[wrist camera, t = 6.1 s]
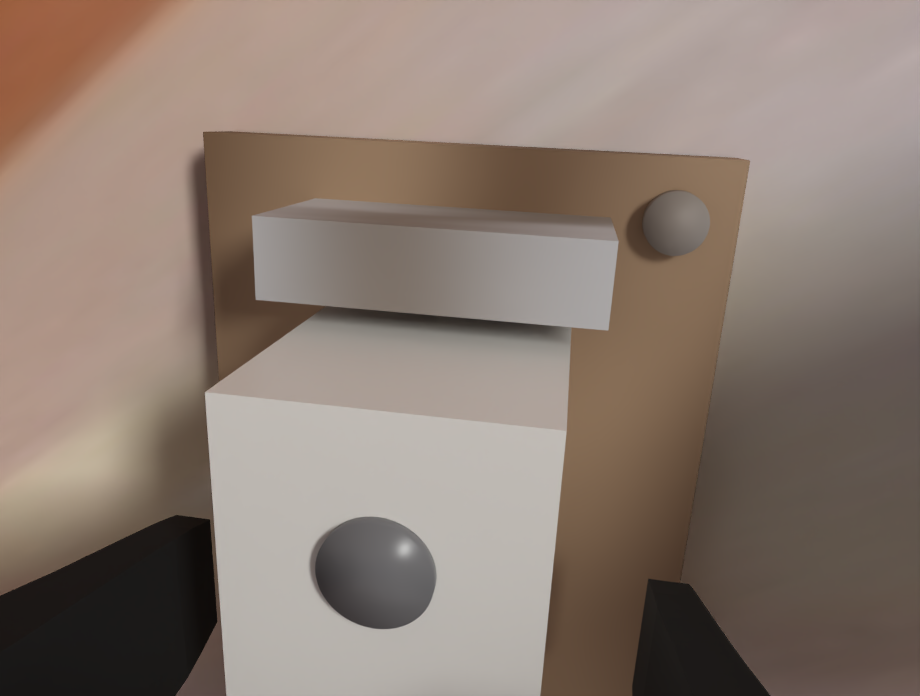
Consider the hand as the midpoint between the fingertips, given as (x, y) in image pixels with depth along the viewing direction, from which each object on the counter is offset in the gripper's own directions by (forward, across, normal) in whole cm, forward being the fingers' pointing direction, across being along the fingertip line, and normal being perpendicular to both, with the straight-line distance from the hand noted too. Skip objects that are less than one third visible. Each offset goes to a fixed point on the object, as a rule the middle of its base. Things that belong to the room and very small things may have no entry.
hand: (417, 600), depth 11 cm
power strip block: (+2, 0, 0) cm, 2 cm away
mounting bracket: (+3, 0, 0) cm, 3 cm away
